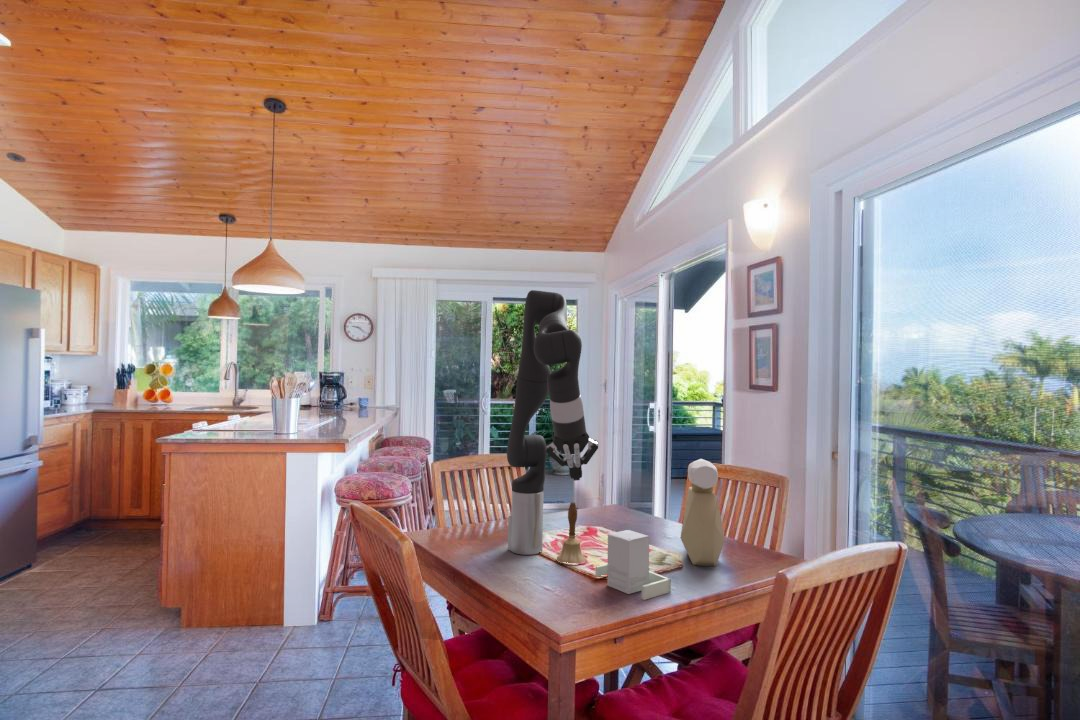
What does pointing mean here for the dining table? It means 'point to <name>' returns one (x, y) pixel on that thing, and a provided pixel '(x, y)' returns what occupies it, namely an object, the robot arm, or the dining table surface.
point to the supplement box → (628, 561)
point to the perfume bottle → (702, 516)
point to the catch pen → (653, 589)
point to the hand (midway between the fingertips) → (576, 478)
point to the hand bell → (571, 541)
